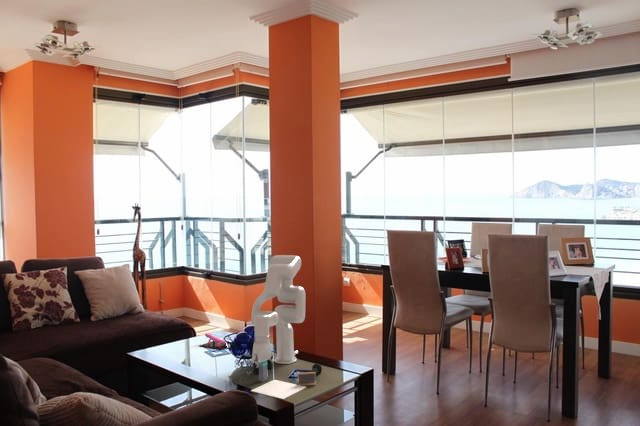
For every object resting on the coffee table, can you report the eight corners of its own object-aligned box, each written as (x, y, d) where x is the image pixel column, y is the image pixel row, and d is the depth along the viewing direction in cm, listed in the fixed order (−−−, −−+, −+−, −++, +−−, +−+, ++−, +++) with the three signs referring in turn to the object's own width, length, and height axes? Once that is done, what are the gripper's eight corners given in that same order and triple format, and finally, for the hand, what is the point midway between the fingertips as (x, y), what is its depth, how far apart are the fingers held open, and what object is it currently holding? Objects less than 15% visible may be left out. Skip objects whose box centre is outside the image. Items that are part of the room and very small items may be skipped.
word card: (297, 384, 272) (297, 372, 272) (315, 383, 273) (315, 372, 273) (297, 385, 271) (297, 373, 271) (315, 384, 272) (315, 372, 271)
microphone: (309, 389, 274) (321, 372, 292) (312, 380, 273) (324, 363, 290) (300, 385, 276) (313, 369, 293) (302, 376, 274) (315, 360, 292)
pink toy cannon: (213, 341, 358) (213, 330, 358) (236, 345, 347) (236, 334, 347) (197, 347, 346) (196, 335, 345) (220, 351, 335) (220, 339, 335)
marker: (262, 378, 282) (262, 359, 282) (267, 379, 281) (267, 360, 280) (258, 380, 280) (258, 361, 279) (263, 381, 278) (263, 362, 277)
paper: (274, 380, 280) (274, 379, 280) (306, 387, 268) (306, 386, 268) (250, 391, 265) (250, 390, 265) (283, 399, 254) (283, 398, 254)
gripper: (267, 334, 288) (268, 366, 289) (244, 341, 274) (245, 375, 275) (278, 336, 284) (279, 369, 285) (256, 343, 270) (257, 378, 270)
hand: (262, 372), depth 280 cm, fingers open, 9 cm apart
